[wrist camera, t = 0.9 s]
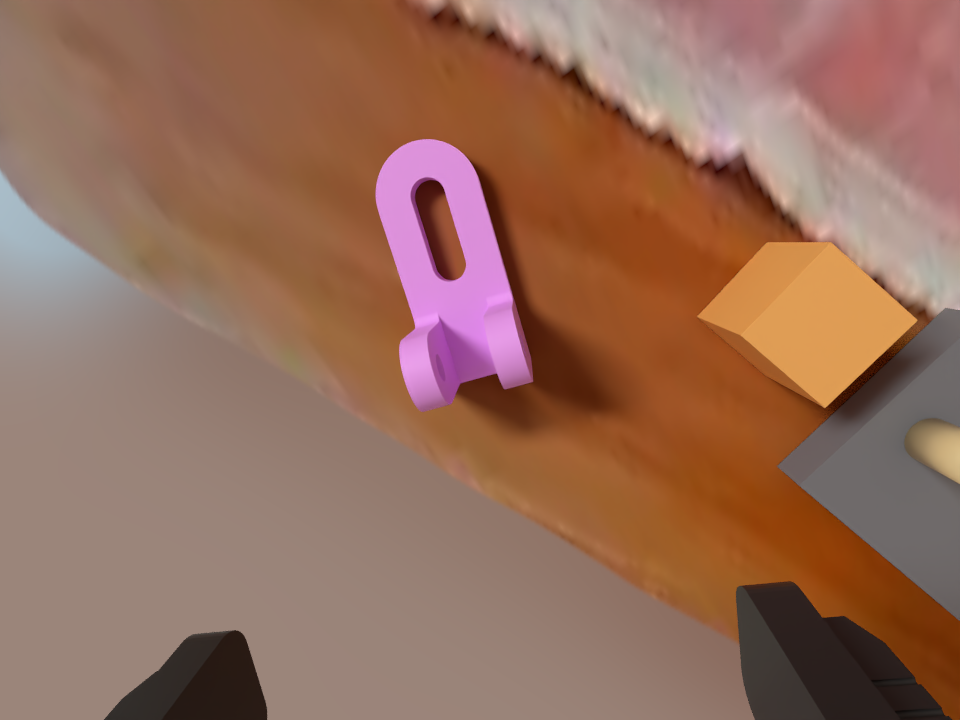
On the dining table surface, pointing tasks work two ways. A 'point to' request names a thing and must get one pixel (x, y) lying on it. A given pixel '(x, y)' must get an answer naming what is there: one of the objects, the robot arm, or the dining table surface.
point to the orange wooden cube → (807, 317)
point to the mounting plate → (898, 461)
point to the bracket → (450, 303)
